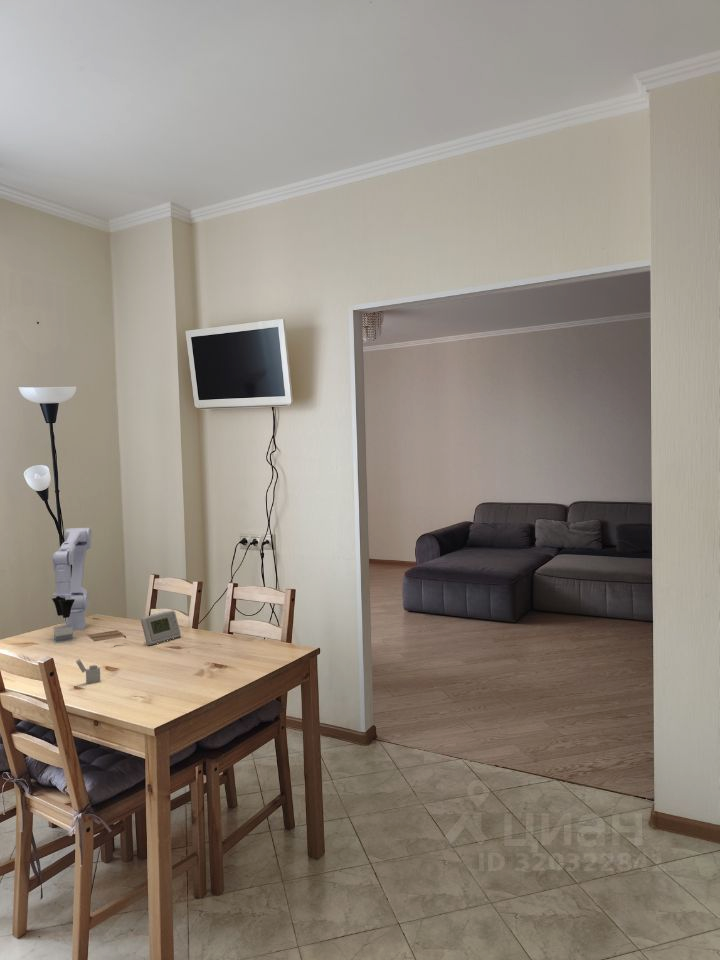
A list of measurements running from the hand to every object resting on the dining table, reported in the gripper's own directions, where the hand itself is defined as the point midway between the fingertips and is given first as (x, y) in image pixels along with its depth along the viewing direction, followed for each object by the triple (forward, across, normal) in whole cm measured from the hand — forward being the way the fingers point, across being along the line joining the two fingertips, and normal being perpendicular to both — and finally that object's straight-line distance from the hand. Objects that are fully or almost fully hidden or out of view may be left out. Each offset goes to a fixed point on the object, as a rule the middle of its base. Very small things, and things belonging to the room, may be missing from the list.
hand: (63, 616), depth 270 cm
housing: (+9, -1, 0) cm, 9 cm away
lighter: (+15, +54, -7) cm, 57 cm away
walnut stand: (+10, +5, +15) cm, 19 cm away
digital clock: (+11, +22, +31) cm, 40 cm away
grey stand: (+11, -1, 0) cm, 11 cm away
